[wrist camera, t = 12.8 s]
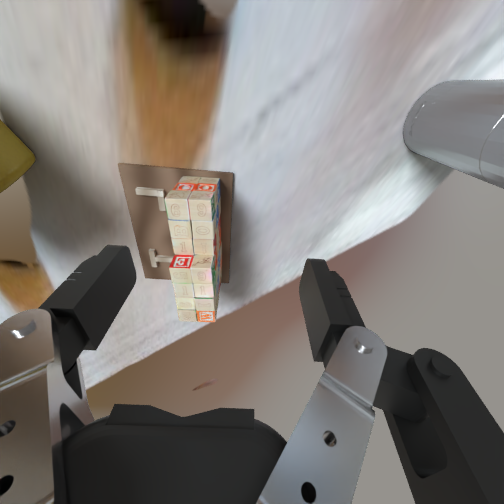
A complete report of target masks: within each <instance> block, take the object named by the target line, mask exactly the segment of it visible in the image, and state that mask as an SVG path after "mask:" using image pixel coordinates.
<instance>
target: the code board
mask: <svg viewBox="0 0 504 504" xmlns="http://www.w3.org/2000/svg"><path fill="white" fill-rule="evenodd" d="M118 167H119V171H120V176H121V180H122V184H123V188H124V192H125V196H126V200H127V204H128V209H129V213H130V217H131V221H132V225H133V229H134V233H135V237H136V241H137V246H138V250H139V254H140V258H141V262H142V266H143V270H144V274H145V278H151V279H168V280H171V275H170V270H169V266H170V264H171V261H172V259H173V257H174V255H175V253H174V250H173V245H172V240H171V234H170V229H169V223H168V216H167V210H166V205H165V197H166V196H167V195H168V193H169V192H170V191H171V190H172V189H173V188H174V187H175V185H176V184H177V183H178V182H179V180H180V179H181V178H182V177H183V176H192V177H206V178H220V197H221V213H220V227H221V241H222V278H221V283H229V265H230V239H231V213H232V187H233V173H230V172H218V171H207V170H195V169H183V168H172V167H160V166H148V165H137V164H125V163H119V164H118Z"/></svg>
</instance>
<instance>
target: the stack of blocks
mask: <svg viewBox="0 0 504 504" xmlns="http://www.w3.org/2000/svg"><path fill="white" fill-rule="evenodd" d="M165 205H166V210H167V216H168V223H169V229H170V234H171V240H172V245H173V250H174V253H175V255H174V257H173V259H172V261H171V264H170V266H169V270H170V275H171V280H172V283H173V287H174V291H175V299H176V304H177V309H178V316H179V320H180V321H191V322H197V321H198V322H216V315H217V307H218V300H219V290H220V285H221V278H222V241H221V227H220V213H221V197H220V178H206V177H192V176H183V177H182V178H181V179H180V180H179V182H178V183H177V184H176V185H175V187H174V188H173V189H172V190H171V191H170V192H169V193H168V195H167V196H166V197H165Z"/></svg>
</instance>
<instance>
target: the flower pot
mask: <svg viewBox="0 0 504 504" xmlns="http://www.w3.org/2000/svg"><path fill="white" fill-rule="evenodd" d="M34 162H35V156H34V154H33V153H32V152H31V151H30V150H29V149H28V148H27V146H26V145H25V144H24V143H23V142H22V141H21V140H20V139H19V138H18V137H17V136H16V135H15V134H14V133H13V132H12V131H11V130H10V129H9V128H8V127H7V126H6V125H5V124H4V123H3V122H2V121H1V120H0V193H1V192H2V191H4V190H5V189H7V188H8V187H9V186H11V185H12V184H13V183H14V182H16V181H17V180H18V179H19V178H20V177H21V176H22V175H23V174H24V173H25V172H26V171H27V170H28V169H29V168H30V167H31V166H32V164H33V163H34Z"/></svg>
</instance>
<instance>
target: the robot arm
mask: <svg viewBox="0 0 504 504" xmlns="http://www.w3.org/2000/svg"><path fill="white" fill-rule="evenodd" d="M403 134H404V141H405V143H406V145H407V147H408V148H409V149H410V150H411V151H413V152H415V153H417V154H420V155H422V156H424V157H427V158H429V159H431V160H434V161H436V162H439V163H441V164H444V165H446V166H449V167H451V168H454V169H456V170H458V171H461V172H463V173H466V174H468V175H471V176H473V177H476V178H478V179H481V180H483V181H486V182H488V183H491V184H493V185H496V186H498V187H501V188H503V189H504V80H457V81H447V82H443V83H441V84H438V85H436V86H434V87H433V88H431V89H429V90H428V91H427V92H426V93H424V94H423V95H422V96H421V97H420V98H419V99H418V100H417V101H416V103H415V104H414V105H413V107H412V108H411V110H410V112H409V114H408V116H407V118H406V121H405V124H404V131H403ZM135 282H136V270H135V267H134V263H133V260H132V256H131V253H130V249H129V248H128V247H127V246H118V245H107V246H106V247H105V248H104V249H103V250H102V251H101V252H100V253H99V254H98V255H97V256H95V255H94V256H93V257H91V258H89V259H88V260H86V261H84V262H82V263H81V264H80V265H79V266H78V268H77V269H76V270H75V271H74V273H72V274H71V275H70V276H69V277H68V278H67V281H66V280H65V281H64V282H63V283H62V284H61V285H60V286H59V287H58V288H57V289H56V290H55V291H54V292H53V293H52V295H51V296H50V297H49V298H48V299H47V300H46V301H45V302H44V303H43V304H42V305H41V306H40V307H39V308H38V309H31V310H27V311H23V312H20V313H18V314H16V315H14V316H12V317H10V318H8V319H7V320H5V321H4V322H3V323H1V324H0V504H351V503H352V500H353V496H354V492H355V489H356V485H357V481H358V477H359V474H360V471H361V467H362V463H363V460H364V456H365V453H366V449H367V445H368V442H369V438H370V434H371V431H372V427H373V423H374V419H375V411H374V410H372V406H374V407H377V408H379V409H382V410H383V412H384V414H385V417H386V420H387V423H388V426H389V429H390V432H391V435H392V437H393V440H394V443H395V446H396V449H397V452H398V455H399V458H400V461H401V463H402V466H403V469H404V472H405V475H406V478H407V480H408V483H409V486H410V489H411V492H412V495H413V498H414V501H415V504H504V433H503V431H502V430H501V428H500V427H499V425H498V424H497V423H496V421H495V420H494V418H493V417H492V415H491V414H490V412H489V411H488V409H487V408H486V406H485V405H484V403H483V402H482V400H481V399H480V397H479V396H478V394H477V393H476V392H475V390H474V388H473V387H472V386H471V384H470V382H469V381H468V380H467V378H466V376H465V375H464V374H463V372H462V371H461V369H460V368H459V367H458V366H457V365H456V363H454V362H453V361H452V360H451V359H450V358H448V357H447V356H445V355H444V354H442V353H440V352H438V351H436V350H432V349H428V348H422V349H419V350H417V351H416V352H415V354H414V355H411V354H408V353H405V352H402V351H399V350H396V349H393V348H390V347H388V346H386V345H385V344H384V342H383V341H382V339H381V338H380V337H379V336H378V335H377V334H376V333H374V332H373V331H371V330H369V329H367V328H366V327H365V325H364V323H363V320H362V318H361V316H360V314H359V312H358V310H357V307H356V306H355V303H354V301H353V299H352V298H351V295H350V293H349V291H348V288H347V286H346V284H345V282H344V280H343V279H342V278H341V277H340V276H339V275H338V274H337V273H336V272H335V271H329V269H328V266H327V264H326V261H325V260H323V259H307V260H306V263H305V266H304V270H303V274H302V277H301V281H300V286H299V294H300V300H301V304H302V309H303V314H304V318H305V323H306V327H307V332H308V336H309V341H310V345H311V350H312V354H313V358H314V361H317V362H323V363H324V367H325V371H324V372H323V374H322V376H321V378H320V380H319V382H318V384H317V386H316V388H315V390H314V392H313V394H312V396H311V398H310V400H309V402H308V404H307V405H306V407H305V409H304V411H303V413H302V415H301V417H300V419H299V421H298V423H297V425H296V427H295V429H294V431H293V433H292V435H291V437H290V439H289V440H288V442H286V441H285V439H284V438H283V437H282V436H281V435H279V434H278V432H276V431H275V430H274V429H273V428H271V427H270V426H268V425H267V424H265V423H263V422H261V421H259V420H256V419H254V409H236V408H218V409H214V410H211V411H207V412H203V413H199V414H195V415H191V416H187V417H180V416H177V415H175V414H172V413H169V412H166V411H164V410H161V409H158V408H156V407H153V406H150V405H127V404H114V407H113V409H112V411H111V414H110V415H109V416H106V417H103V418H100V419H98V420H96V421H94V418H93V415H92V413H91V411H90V408H89V405H88V401H87V396H86V390H85V384H84V378H83V373H82V367H81V361H80V359H79V355H80V354H81V352H82V351H83V350H96V349H97V348H98V346H99V344H100V343H101V341H102V339H103V338H104V336H105V334H106V333H107V331H108V329H109V328H110V326H111V324H112V322H113V321H114V319H115V317H116V316H117V314H118V312H119V311H120V309H121V307H122V306H123V304H124V302H125V301H126V299H127V297H128V295H129V294H130V292H131V290H132V289H133V287H134V285H135Z"/></svg>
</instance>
